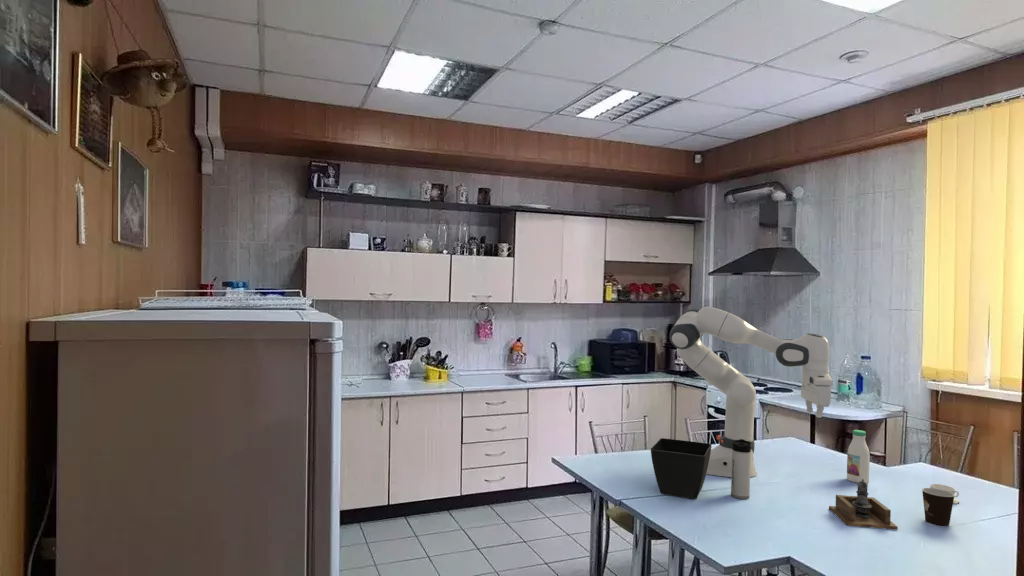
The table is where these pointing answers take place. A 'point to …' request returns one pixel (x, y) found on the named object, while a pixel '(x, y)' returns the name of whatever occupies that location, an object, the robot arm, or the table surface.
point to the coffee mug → (937, 506)
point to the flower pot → (680, 466)
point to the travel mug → (741, 469)
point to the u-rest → (847, 515)
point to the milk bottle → (858, 458)
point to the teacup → (946, 488)
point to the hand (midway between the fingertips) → (814, 414)
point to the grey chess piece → (862, 501)
